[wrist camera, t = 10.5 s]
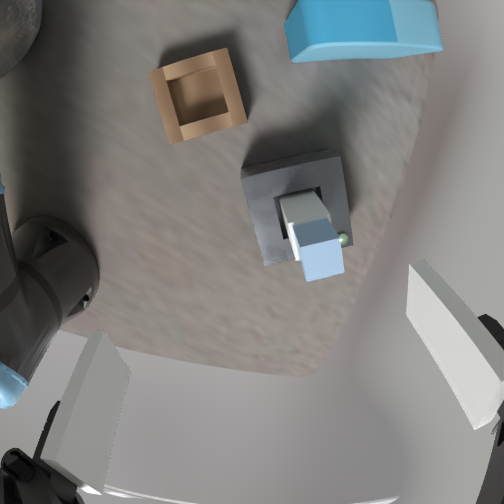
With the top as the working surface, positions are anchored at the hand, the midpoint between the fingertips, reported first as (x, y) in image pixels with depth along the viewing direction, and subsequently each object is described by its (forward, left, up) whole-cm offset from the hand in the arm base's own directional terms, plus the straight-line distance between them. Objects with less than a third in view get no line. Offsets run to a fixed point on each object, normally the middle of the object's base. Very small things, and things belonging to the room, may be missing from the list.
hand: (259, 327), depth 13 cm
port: (+4, -4, -25) cm, 26 cm away
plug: (+4, -4, -24) cm, 24 cm away
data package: (+13, +13, -25) cm, 31 cm away
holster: (-3, +10, -25) cm, 27 cm away
